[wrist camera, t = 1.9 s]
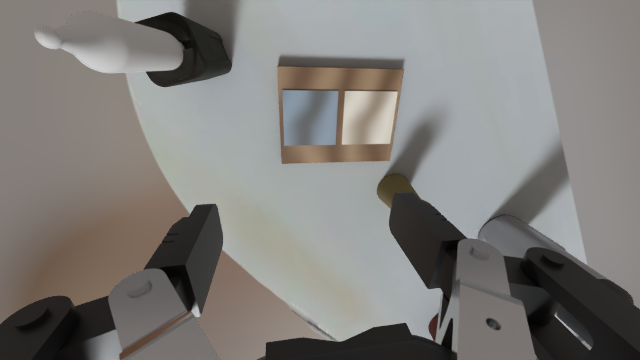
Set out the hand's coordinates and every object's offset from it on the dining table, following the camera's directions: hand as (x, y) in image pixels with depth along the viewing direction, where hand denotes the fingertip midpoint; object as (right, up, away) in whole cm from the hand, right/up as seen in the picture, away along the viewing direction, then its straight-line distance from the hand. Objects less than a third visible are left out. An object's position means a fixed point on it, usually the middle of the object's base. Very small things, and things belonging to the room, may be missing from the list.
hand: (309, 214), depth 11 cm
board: (+3, +11, +27) cm, 29 cm away
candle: (-14, +18, +21) cm, 31 cm away
